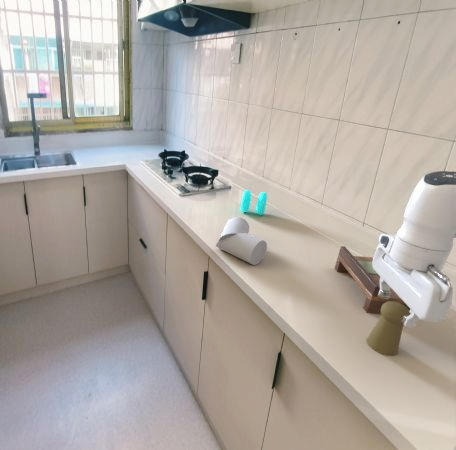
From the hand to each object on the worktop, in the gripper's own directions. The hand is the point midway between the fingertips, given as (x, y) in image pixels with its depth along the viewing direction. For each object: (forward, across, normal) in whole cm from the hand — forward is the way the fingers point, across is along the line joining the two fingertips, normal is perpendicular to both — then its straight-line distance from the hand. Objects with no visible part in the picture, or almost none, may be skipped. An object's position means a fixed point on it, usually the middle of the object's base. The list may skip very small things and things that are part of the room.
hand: (394, 310), depth 72 cm
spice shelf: (+10, +23, -7) cm, 26 cm away
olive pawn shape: (+10, 0, 0) cm, 10 cm away
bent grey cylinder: (+10, +42, +27) cm, 51 cm away
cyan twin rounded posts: (+10, +78, +17) cm, 80 cm away
